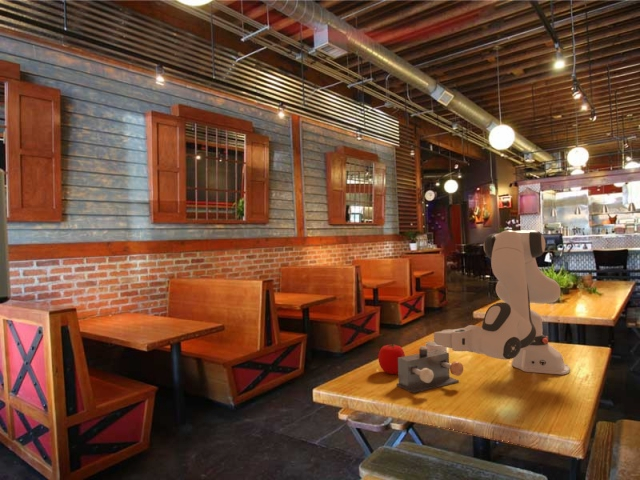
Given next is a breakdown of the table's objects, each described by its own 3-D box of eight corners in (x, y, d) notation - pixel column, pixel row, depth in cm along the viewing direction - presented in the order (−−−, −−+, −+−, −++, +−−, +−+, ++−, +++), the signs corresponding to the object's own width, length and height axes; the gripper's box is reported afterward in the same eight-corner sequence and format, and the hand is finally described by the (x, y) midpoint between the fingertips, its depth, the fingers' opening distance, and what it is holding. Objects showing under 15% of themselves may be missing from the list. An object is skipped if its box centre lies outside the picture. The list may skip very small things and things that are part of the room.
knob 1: (433, 381, 162) (433, 368, 162) (423, 384, 160) (422, 370, 160) (417, 374, 170) (417, 362, 170) (407, 377, 168) (406, 364, 168)
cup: (448, 374, 183) (447, 346, 183) (426, 374, 185) (425, 346, 185) (446, 368, 192) (445, 341, 192) (425, 367, 194) (424, 340, 194)
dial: (428, 354, 175) (428, 345, 175) (425, 356, 172) (425, 347, 172) (421, 353, 177) (420, 345, 177) (418, 355, 174) (417, 346, 174)
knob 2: (463, 374, 169) (463, 361, 169) (453, 376, 167) (453, 363, 167) (446, 368, 177) (446, 356, 177) (437, 370, 175) (436, 358, 175)
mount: (458, 382, 173) (457, 354, 173) (413, 393, 163) (412, 364, 163) (441, 375, 182) (440, 349, 182) (396, 385, 172) (395, 358, 172)
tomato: (411, 374, 185) (410, 345, 185) (388, 379, 180) (387, 348, 180) (395, 367, 196) (394, 339, 196) (373, 371, 192) (372, 342, 192)
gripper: (495, 326, 152) (465, 320, 164) (451, 332, 143) (423, 326, 155) (495, 344, 152) (466, 336, 164) (451, 352, 143) (423, 343, 155)
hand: (444, 331), depth 160 cm, fingers closed
